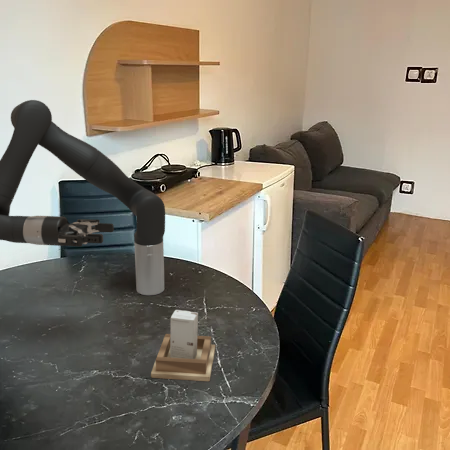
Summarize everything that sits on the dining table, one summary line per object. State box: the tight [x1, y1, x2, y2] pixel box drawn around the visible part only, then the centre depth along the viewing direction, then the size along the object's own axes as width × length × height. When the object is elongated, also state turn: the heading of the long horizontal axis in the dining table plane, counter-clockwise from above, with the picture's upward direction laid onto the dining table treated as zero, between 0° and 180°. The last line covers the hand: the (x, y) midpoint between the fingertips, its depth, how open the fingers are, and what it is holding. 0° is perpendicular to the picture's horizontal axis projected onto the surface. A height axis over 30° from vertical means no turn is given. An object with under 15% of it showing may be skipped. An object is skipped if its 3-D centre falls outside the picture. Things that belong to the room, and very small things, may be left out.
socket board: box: [150, 333, 216, 382], centre depth 119 cm, size 14×14×4 cm
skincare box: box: [169, 309, 199, 359], centre depth 118 cm, size 6×4×12 cm
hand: (108, 233), depth 122 cm, fingers open, 8 cm apart
